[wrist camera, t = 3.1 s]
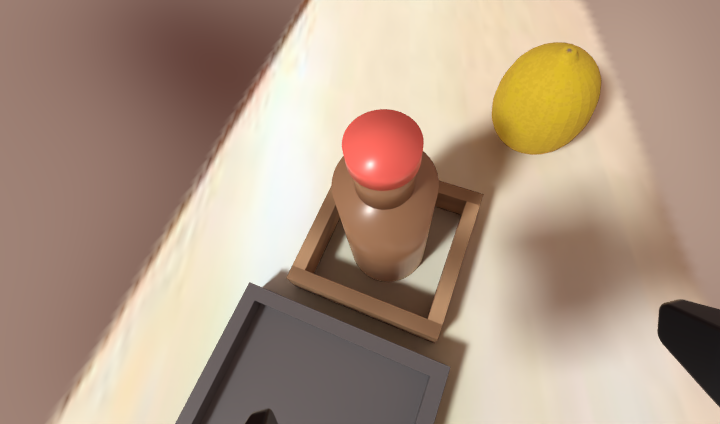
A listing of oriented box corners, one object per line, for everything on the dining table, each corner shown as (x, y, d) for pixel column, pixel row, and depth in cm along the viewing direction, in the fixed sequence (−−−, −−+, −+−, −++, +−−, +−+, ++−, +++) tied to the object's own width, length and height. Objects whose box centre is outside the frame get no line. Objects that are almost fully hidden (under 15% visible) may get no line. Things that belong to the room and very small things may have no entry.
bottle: (410, 292, 22) (423, 218, 12) (340, 266, 23) (296, 176, 13) (433, 226, 24) (464, 109, 13) (367, 204, 25) (348, 79, 14)
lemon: (504, 99, 28) (542, -1, 20) (576, 132, 26) (647, 36, 19) (465, 151, 26) (493, 63, 19) (540, 190, 24) (602, 110, 17)
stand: (434, 342, 21) (437, 339, 19) (294, 285, 23) (286, 277, 21) (476, 208, 24) (483, 194, 22) (350, 168, 26) (347, 152, 24)
